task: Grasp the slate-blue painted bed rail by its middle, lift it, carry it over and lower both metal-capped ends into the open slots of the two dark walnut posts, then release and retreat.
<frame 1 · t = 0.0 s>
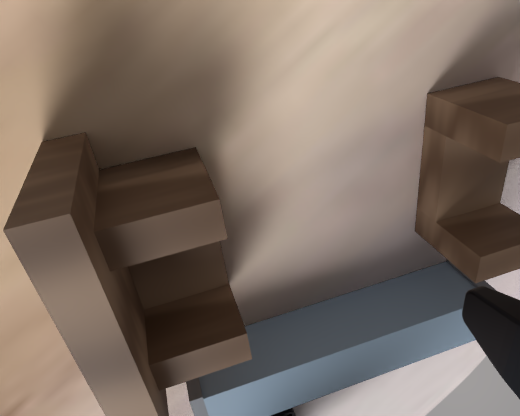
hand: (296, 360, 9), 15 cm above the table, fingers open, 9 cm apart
bed rail: (328, 318, 31), on the table
headboard posts: (322, 195, 26), on the table
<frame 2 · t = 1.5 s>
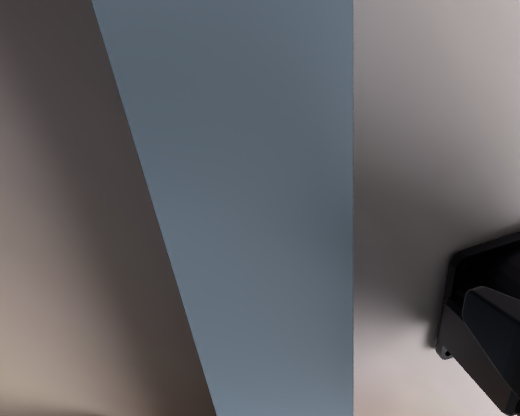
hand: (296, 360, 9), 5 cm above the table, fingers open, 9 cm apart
bed rail: (234, 234, 14), on the table
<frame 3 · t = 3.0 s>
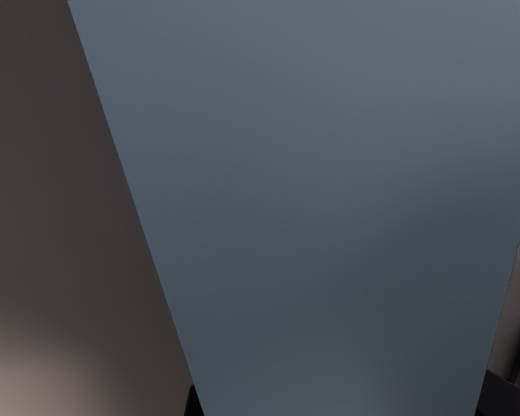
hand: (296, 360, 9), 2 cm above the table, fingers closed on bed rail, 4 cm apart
bed rail: (275, 314, 11), on the table, touching gripper
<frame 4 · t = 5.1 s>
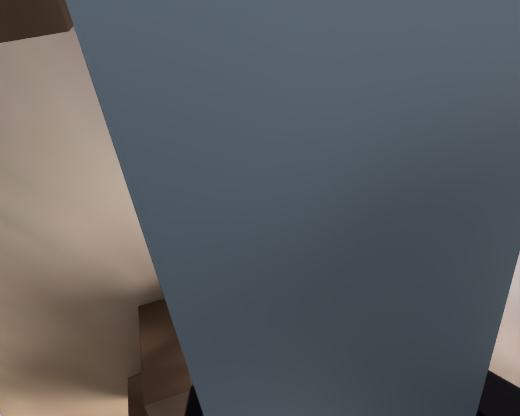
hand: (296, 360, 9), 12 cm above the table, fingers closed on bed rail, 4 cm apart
bed rail: (275, 313, 11), point 10 cm above the table, touching gripper
headboard posts: (204, 166, 19), on the table
when the fingers open (4 cm above the table, at t = 7.1 s): bed rail stays where it is, resting on headboard posts.
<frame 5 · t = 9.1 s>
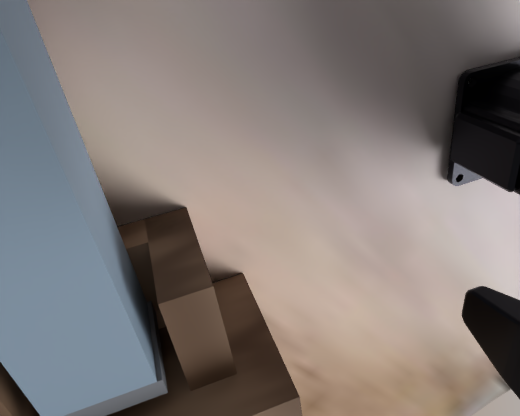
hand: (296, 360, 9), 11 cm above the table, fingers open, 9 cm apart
headboard posts: (6, 84, 15), on the table
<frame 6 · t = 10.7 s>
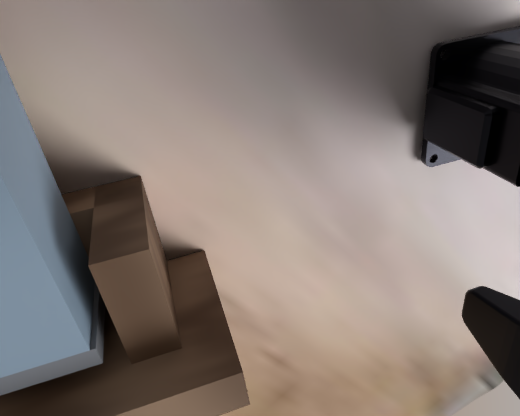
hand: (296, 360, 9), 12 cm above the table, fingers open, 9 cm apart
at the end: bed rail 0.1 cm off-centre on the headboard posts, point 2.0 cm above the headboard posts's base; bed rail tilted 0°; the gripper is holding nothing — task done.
